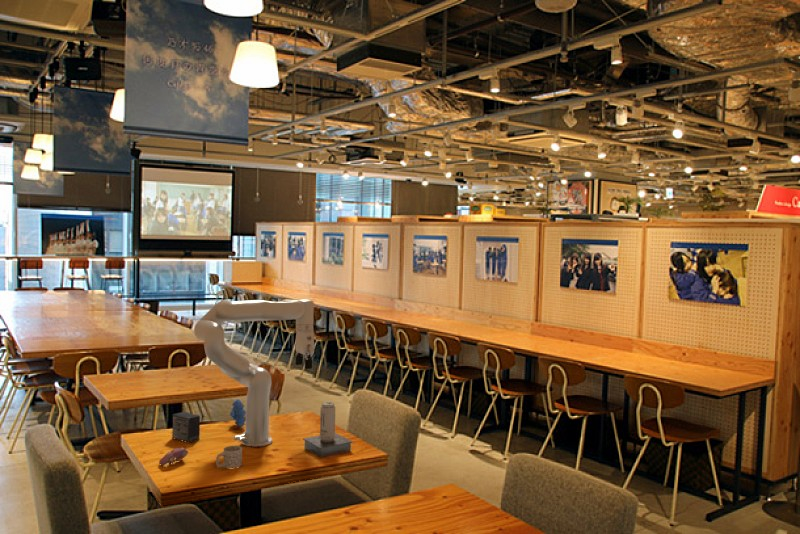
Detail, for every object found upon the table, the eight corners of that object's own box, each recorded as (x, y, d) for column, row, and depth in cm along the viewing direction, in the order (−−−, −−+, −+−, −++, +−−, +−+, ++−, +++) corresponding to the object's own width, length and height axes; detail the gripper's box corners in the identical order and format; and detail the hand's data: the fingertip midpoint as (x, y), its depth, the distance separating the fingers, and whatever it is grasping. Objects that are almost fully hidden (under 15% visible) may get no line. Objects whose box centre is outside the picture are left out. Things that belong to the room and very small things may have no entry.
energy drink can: (317, 439, 261) (317, 402, 260) (329, 436, 264) (330, 400, 264) (324, 443, 256) (325, 406, 255) (337, 440, 260) (338, 404, 259)
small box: (200, 439, 269) (201, 415, 269) (188, 443, 264) (188, 418, 263) (184, 435, 275) (184, 411, 274) (171, 438, 269) (171, 414, 269)
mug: (236, 461, 244) (236, 444, 243) (244, 466, 239) (245, 449, 239) (211, 467, 237) (212, 449, 237) (220, 472, 232) (220, 454, 232)
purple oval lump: (164, 471, 236) (170, 456, 234) (157, 463, 238) (162, 448, 236) (185, 464, 244) (191, 449, 242) (178, 456, 246) (184, 442, 244)
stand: (320, 457, 250) (320, 447, 250) (302, 448, 261) (303, 438, 261) (352, 451, 259) (352, 441, 259) (334, 442, 270) (334, 432, 270)
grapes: (224, 424, 292) (224, 398, 291) (238, 422, 296) (238, 396, 295) (234, 430, 283) (235, 404, 282) (249, 428, 287) (249, 402, 286)
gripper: (321, 329, 274) (320, 369, 274) (304, 324, 288) (303, 362, 289) (304, 330, 270) (304, 371, 270) (288, 325, 284) (287, 363, 285)
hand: (303, 366), depth 279 cm, fingers open, 9 cm apart
